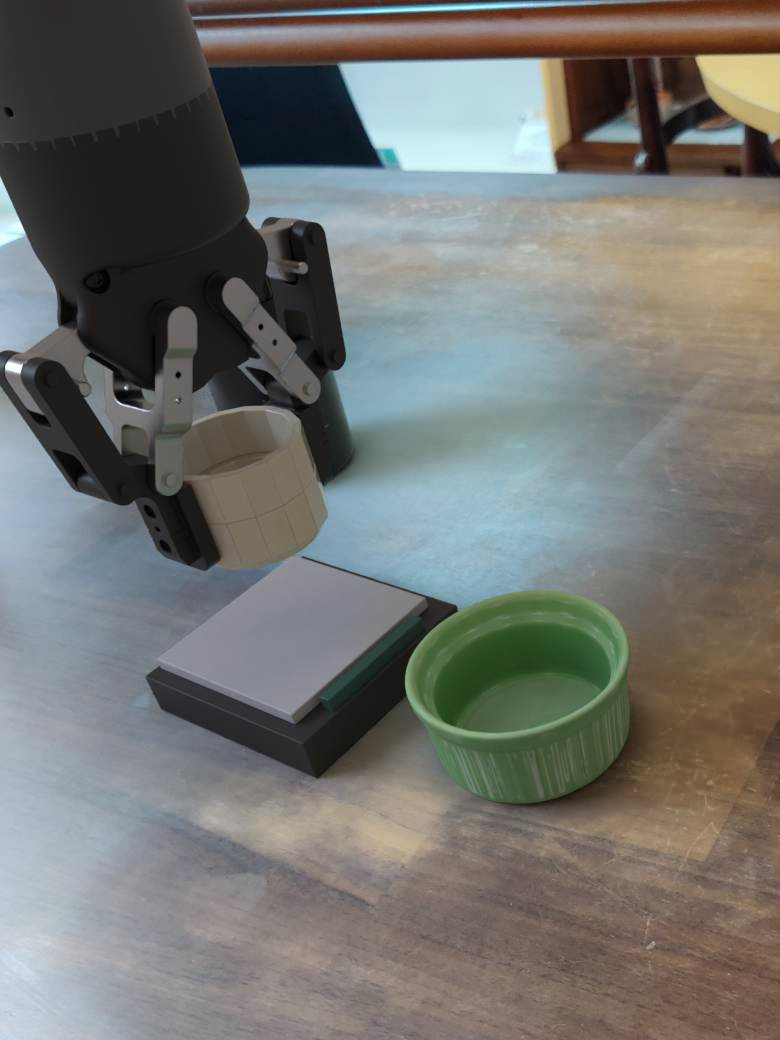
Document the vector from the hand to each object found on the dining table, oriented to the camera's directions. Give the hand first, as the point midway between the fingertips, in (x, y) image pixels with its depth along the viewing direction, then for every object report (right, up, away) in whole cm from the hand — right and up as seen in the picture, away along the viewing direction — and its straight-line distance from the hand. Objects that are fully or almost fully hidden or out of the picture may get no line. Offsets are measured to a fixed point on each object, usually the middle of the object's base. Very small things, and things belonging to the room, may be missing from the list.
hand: (257, 519), depth 50 cm
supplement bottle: (-4, +5, +21) cm, 22 cm away
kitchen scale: (+1, -7, +5) cm, 9 cm away
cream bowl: (0, -1, 0) cm, 1 cm away
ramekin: (+12, -9, 0) cm, 15 cm away
